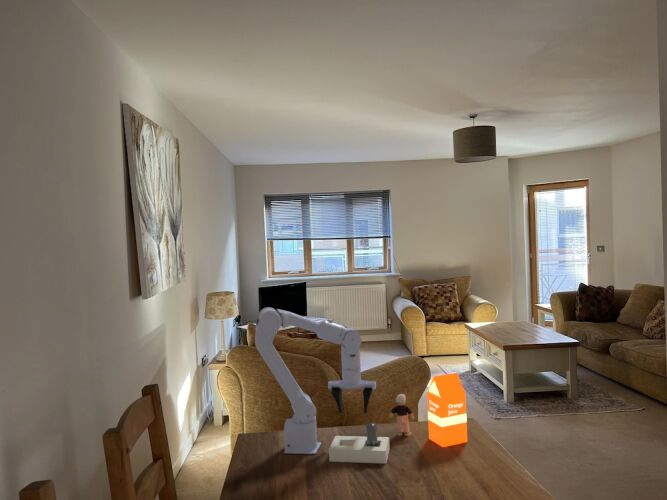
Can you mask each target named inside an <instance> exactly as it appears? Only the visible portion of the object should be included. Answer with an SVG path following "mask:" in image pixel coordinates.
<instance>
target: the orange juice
mask: <svg viewBox="0 0 667 500" xmlns="http://www.w3.org/2000/svg"><path fill="white" fill-rule="evenodd" d="M426 396H427V397H426V398H427V399H426V401H427V420H428V421H427V422H428V439H429V440H430V441H432V442H434V443H435V444H437V445H439V447H442V448H447V447H451V446H455V445H459V444H464V443H468V419H467V416H468V415H467V400H466V399H467V395H466V392H465V388H464V387H463V384H462V381H461V379H460V376H459V374H458V372H453V373H448V374H441V375H440V374H439V375H435V376H432V378H431V382H430V383H429V386H428V389H427V391H426Z"/></svg>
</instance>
